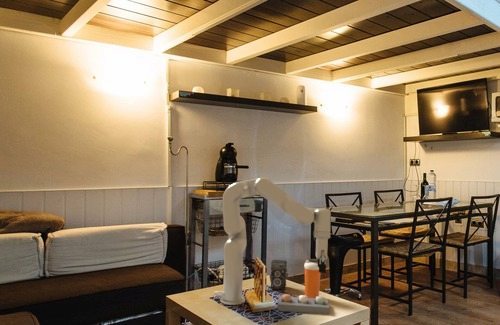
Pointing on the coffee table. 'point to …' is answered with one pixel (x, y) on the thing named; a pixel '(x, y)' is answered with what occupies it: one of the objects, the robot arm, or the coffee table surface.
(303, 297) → the button cream
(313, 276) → the shaker bottle
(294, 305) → the panel
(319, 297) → the button sage
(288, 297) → the button rust
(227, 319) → the coffee table surface
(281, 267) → the camera
